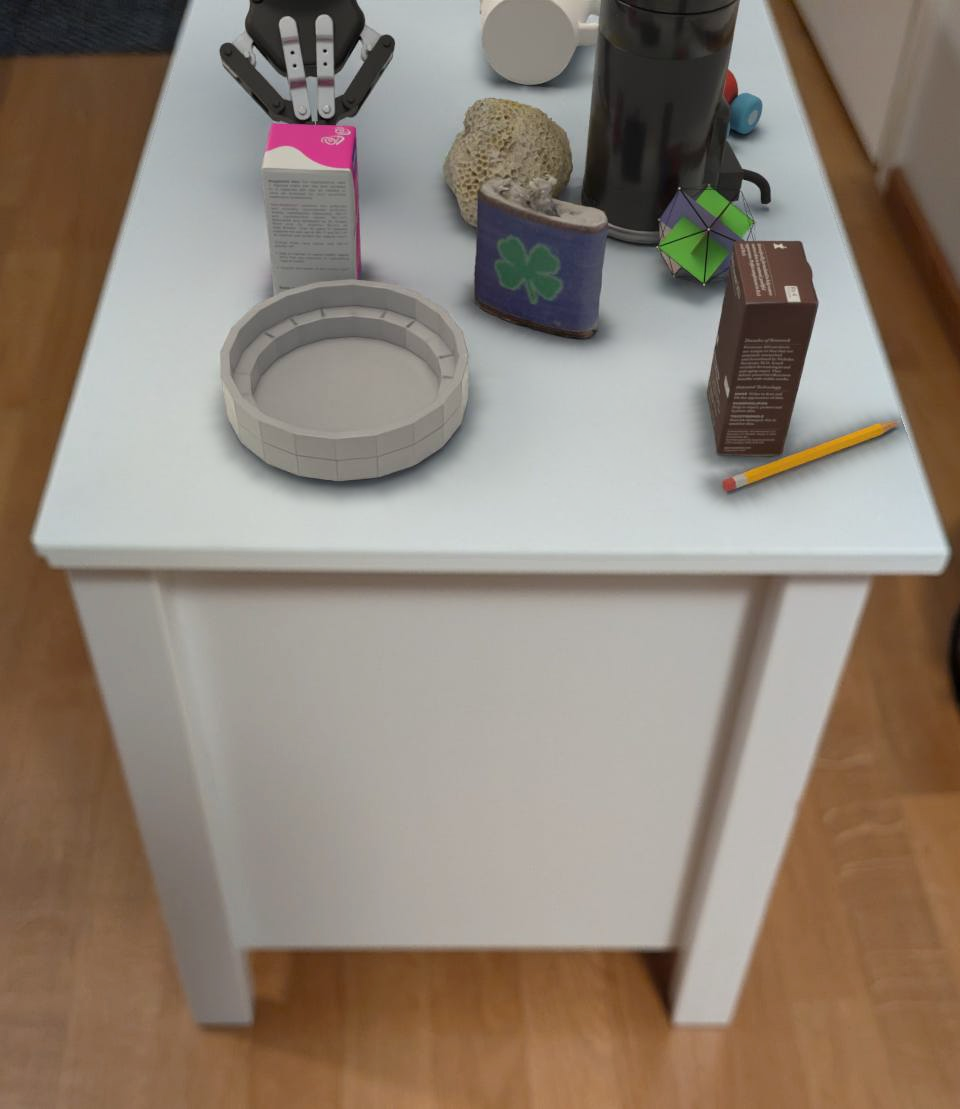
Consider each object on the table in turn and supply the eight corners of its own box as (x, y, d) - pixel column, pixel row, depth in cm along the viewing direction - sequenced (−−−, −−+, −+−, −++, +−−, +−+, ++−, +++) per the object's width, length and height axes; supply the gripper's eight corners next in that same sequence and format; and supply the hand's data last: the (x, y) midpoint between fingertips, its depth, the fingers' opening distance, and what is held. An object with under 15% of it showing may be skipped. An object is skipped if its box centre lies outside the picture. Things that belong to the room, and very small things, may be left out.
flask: (602, 323, 86) (617, 186, 78) (585, 347, 85) (598, 210, 77) (483, 284, 89) (486, 148, 81) (464, 307, 87) (465, 170, 79)
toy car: (765, 125, 104) (789, 7, 97) (700, 165, 100) (720, 44, 93) (679, 85, 109) (696, -31, 101) (613, 121, 104) (625, 3, 97)
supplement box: (360, 319, 86) (350, 170, 78) (274, 317, 86) (254, 169, 78) (365, 268, 90) (356, 122, 81) (283, 267, 90) (265, 120, 81)
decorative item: (618, 185, 90) (498, 147, 86) (558, 273, 96) (443, 242, 92) (578, 83, 97) (465, 43, 92) (525, 171, 103) (416, 138, 98)
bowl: (449, 319, 86) (449, 271, 83) (483, 473, 76) (484, 425, 73) (226, 337, 85) (218, 288, 82) (231, 497, 75) (222, 449, 72)
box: (700, 394, 82) (731, 237, 73) (769, 395, 82) (809, 238, 73) (710, 458, 78) (745, 300, 69) (783, 460, 78) (827, 302, 69)
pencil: (726, 478, 75) (730, 489, 75) (901, 414, 79) (906, 424, 79) (720, 482, 76) (725, 492, 76) (894, 418, 80) (899, 428, 80)
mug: (470, 81, 108) (472, -12, 102) (483, 30, 114) (485, -59, 108) (609, 92, 108) (619, 0, 102) (614, 40, 114) (624, -49, 108)
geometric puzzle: (687, 170, 82) (620, 262, 87) (769, 236, 82) (697, 324, 87) (715, 145, 88) (650, 232, 93) (791, 206, 88) (722, 290, 93)
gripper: (195, -91, 84) (223, 171, 85) (391, -99, 86) (416, 158, 87) (205, -44, 92) (231, 196, 93) (385, -53, 93) (408, 183, 94)
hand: (321, 177), depth 90 cm, fingers closed
